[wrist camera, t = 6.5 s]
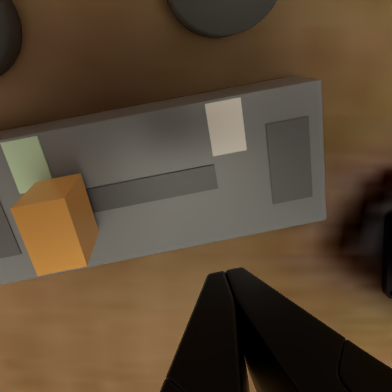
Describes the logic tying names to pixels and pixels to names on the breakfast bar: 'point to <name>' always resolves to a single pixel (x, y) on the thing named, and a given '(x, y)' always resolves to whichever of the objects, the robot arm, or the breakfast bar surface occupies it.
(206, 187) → the grey flat block
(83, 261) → the orange upright box
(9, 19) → the coil
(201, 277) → the breakfast bar surface
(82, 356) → the breakfast bar surface
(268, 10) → the coil
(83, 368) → the breakfast bar surface
